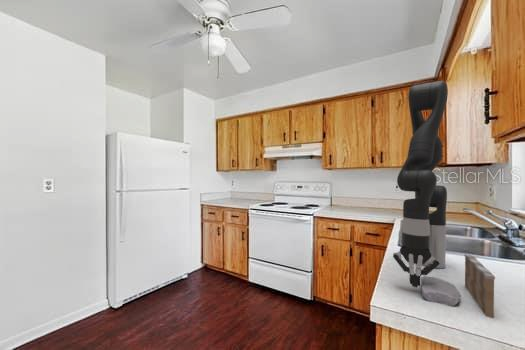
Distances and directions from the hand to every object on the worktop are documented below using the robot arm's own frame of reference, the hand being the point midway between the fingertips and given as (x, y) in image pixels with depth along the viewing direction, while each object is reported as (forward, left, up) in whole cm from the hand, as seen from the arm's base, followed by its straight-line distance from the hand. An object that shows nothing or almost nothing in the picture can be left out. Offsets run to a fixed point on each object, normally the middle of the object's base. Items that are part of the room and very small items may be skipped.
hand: (414, 285), depth 76 cm
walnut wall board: (-3, +16, -2) cm, 16 cm away
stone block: (0, +7, -2) cm, 7 cm away
